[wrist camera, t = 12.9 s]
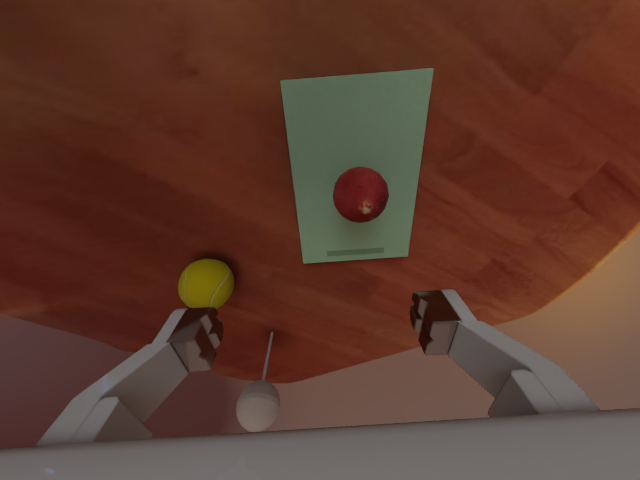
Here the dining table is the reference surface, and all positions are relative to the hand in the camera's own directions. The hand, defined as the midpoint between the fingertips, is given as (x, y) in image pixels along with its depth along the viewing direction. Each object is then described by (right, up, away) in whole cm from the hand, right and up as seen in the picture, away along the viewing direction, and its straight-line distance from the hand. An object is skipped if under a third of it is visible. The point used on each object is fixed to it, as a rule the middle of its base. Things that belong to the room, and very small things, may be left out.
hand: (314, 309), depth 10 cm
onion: (+4, +10, +19) cm, 22 cm away
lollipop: (-9, -14, +34) cm, 38 cm away
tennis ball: (-16, -1, +27) cm, 31 cm away
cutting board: (+5, +10, +20) cm, 23 cm away
